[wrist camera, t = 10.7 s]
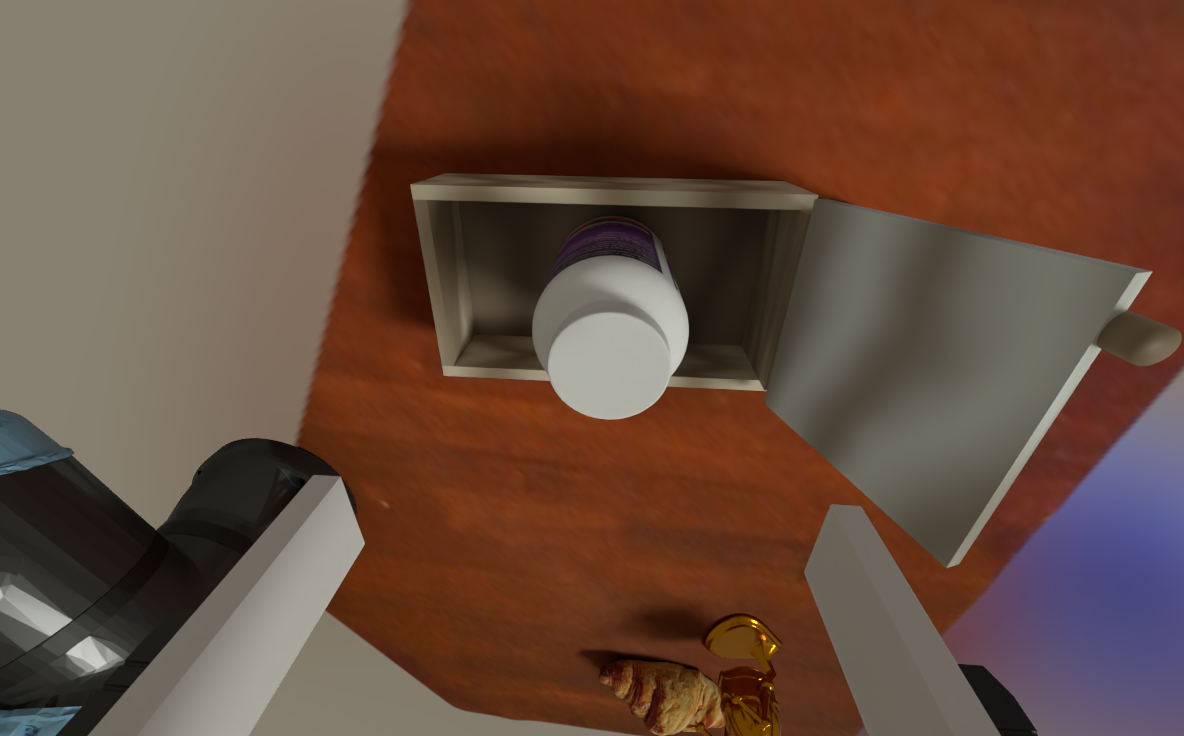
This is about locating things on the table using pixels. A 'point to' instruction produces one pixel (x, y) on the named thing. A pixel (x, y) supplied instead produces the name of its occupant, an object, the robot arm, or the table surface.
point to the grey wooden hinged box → (813, 322)
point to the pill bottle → (610, 319)
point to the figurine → (745, 677)
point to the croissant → (665, 695)
